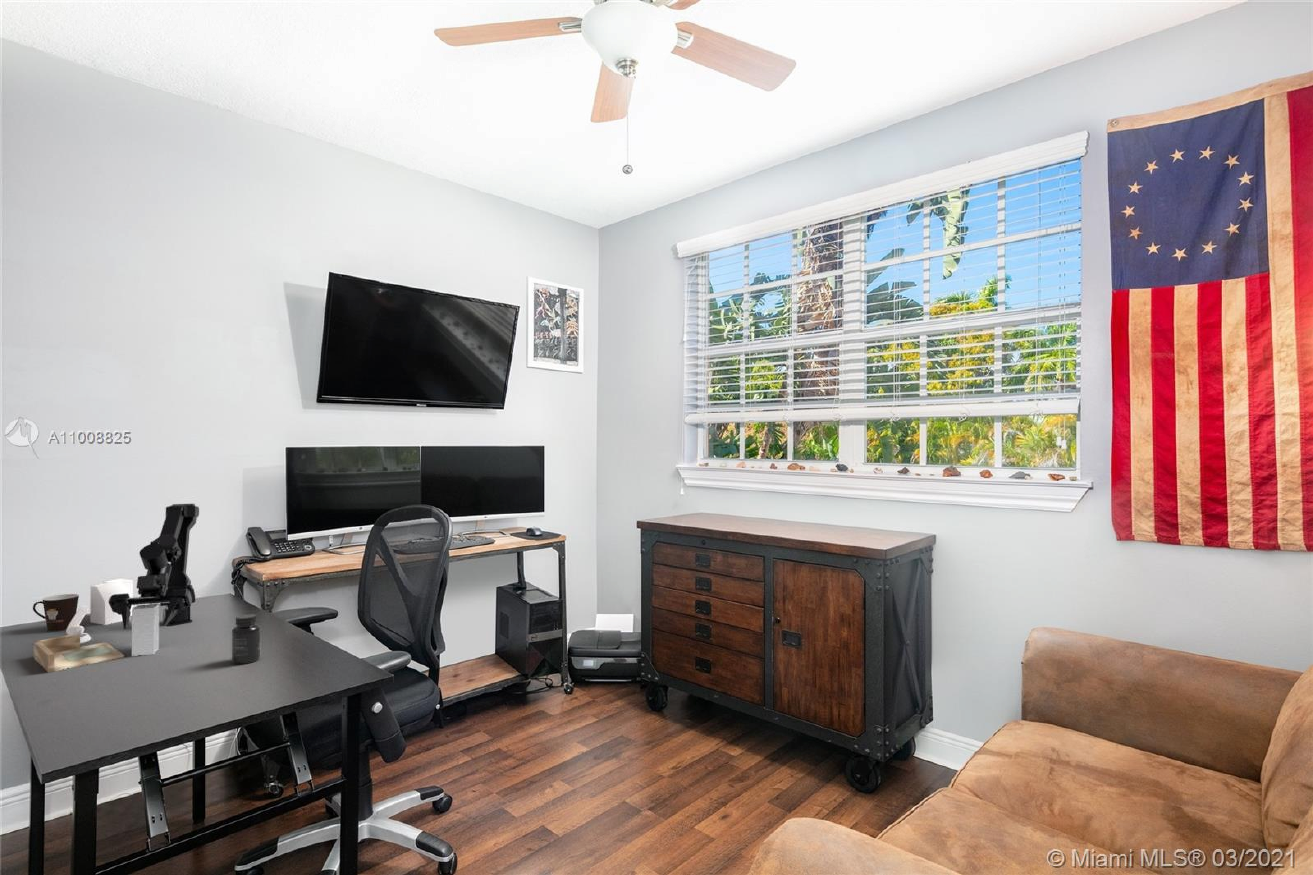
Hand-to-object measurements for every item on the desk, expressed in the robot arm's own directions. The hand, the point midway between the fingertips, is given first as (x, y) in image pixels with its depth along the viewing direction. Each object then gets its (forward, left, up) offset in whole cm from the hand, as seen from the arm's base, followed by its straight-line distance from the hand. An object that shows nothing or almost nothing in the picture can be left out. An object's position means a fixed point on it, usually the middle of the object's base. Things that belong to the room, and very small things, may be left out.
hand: (145, 626), depth 188 cm
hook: (+10, -30, -8) cm, 33 cm away
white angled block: (-4, -52, -8) cm, 53 cm away
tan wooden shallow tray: (+13, -10, -7) cm, 17 cm away
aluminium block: (0, 0, -7) cm, 8 cm away
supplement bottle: (-15, +29, -8) cm, 34 cm away
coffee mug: (+10, -52, -8) cm, 53 cm away
